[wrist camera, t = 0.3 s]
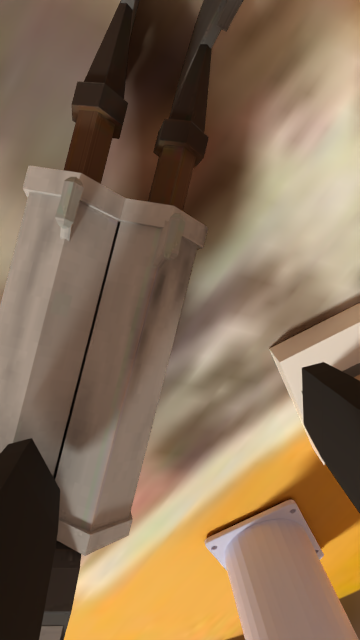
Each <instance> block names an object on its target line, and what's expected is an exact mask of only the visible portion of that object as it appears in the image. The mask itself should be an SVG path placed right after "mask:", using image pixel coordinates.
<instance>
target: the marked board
mask: <svg viewBox="0 0 360 640" xmlns="http://www.w3.org/2000/svg"><path fill="white" fill-rule="evenodd" d="M269 349H270V352H271V354H272V356H273V359H274V361H275V363H276V365H277V368H278V370H279V372H280V375H281V377H282V379H283V381H284V384H285V386H286V388H287V390H288V393H289V395H290V397H291V400H292V402H293V404H294V406H295V409H296V411H297V413H298V416H299V418H300V420H301V422H302V425H303V427H304V429H305V432H306V434H307V436H308V438H309V441H310V443H311V445H312V447H313V449H314V451H315V452H316V454H317V455H318V457H319V459H320V460H321V462H322V463H323V465H325V462H324V461H323V460H322V458H321V456H320V454H319V452H318V451H317V449H316V447H315V445H314V443H313V441H312V440H311V438H310V436H309V434H308V432H307V430H306V428H305V426H304V422H303V394H302V392H301V391H302V368H303V367H306V366H310V365H314V364H318V363H322V362H325V363H327V364H329V365H331V366H333V367H335V368H337V369H339V370H340V371H344V370H346V369H348V368H350V367H352V366H354V365H356V364H358V363H360V303H358V304H356V305H354V306H352V307H350V308H348V309H346V310H344V311H343V312H341V313H339V314H337V315H335V316H333V317H331V318H329V319H327V320H325V321H323V322H321V323H319V324H317V325H315V326H313V327H311V328H309V329H307V330H305V331H303V332H301V333H299V334H297V335H295V336H293V337H291V338H289V339H287V340H285V341H283V342H281V343H279V344H277V345H275V346H273V347H271V348H269Z"/></svg>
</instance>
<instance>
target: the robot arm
mask: <svg viewBox="0 0 360 640" xmlns="http://www.w3.org/2000/svg"><path fill="white" fill-rule="evenodd" d="M302 392H303V422H304V426H305V428H306V430H307V432H308V434H309V436H310V438H311V440H312V441H313V443H314V445H315V447H316V449H317V451H318V452H319V454H320V456H321V458H322V460H323V461H324V462H325V464H326V465H327V467H328V468H329V470H330V471H331V473H332V474H333V476H334V477H335V479H336V480H337V481H338V483H339V484H340V486H341V487H342V489H343V490H344V492H345V493H346V494H347V496H348V497H349V499H350V500H351V502H352V503H353V504H354V506H355V507H356V509H357V510H358V512H359V513H360V381H359V380H358V379H356V378H354V377H352V376H350V375H348V374H346V373H344V372H342V371H340V370H339V369H337V368H335V367H333V366H331V365H329V364H327V363H325V362H322V363H318V364H314V365H310V366H306V367H303V368H302ZM59 507H60V489H59V487H58V485H57V483H56V481H55V479H54V478H53V476H52V474H51V472H50V470H49V468H48V467H47V465H46V463H45V461H44V459H43V457H42V456H41V454H40V452H39V450H38V448H37V446H36V445H35V443H34V441H33V439H32V438H30V439H26V440H22V441H18V442H14V443H11V444H8V445H7V446H6V447H5V448H4V450H3V451H2V452H1V453H0V640H39V637H40V632H41V626H42V621H43V615H44V609H45V604H46V598H47V592H48V587H49V581H50V576H51V570H52V564H53V558H54V553H55V547H56V541H57V535H58V524H59ZM205 545H206V547H207V549H208V550H209V551H210V552H211V553H212V554H213V555H214V557H215V558H216V559H217V560H218V561H219V562H220V563H221V565H222V566H223V567H224V568H225V569H226V570H227V571H228V575H229V579H230V583H231V587H232V591H233V595H234V599H235V602H236V606H237V610H238V614H239V618H240V622H241V626H242V629H243V633H244V637H245V640H358V638H357V636H356V633H355V632H354V629H353V627H352V625H351V623H350V621H349V619H348V617H347V615H346V613H345V611H344V609H343V607H342V605H341V603H340V601H339V599H338V597H337V595H336V593H335V591H334V589H333V586H332V584H331V582H330V580H329V578H328V576H327V574H326V572H325V570H324V568H323V566H322V564H321V562H320V560H319V559H321V558H322V557H323V555H324V554H323V552H322V550H321V548H320V546H319V545H318V543H317V541H316V539H315V537H314V535H313V534H312V532H311V530H310V528H309V526H308V524H307V523H306V521H305V519H304V517H303V515H302V513H301V512H300V510H299V508H298V506H297V504H296V502H295V501H294V500H287V501H285V502H283V503H280V504H278V505H276V506H274V507H272V508H270V509H268V510H266V511H263V512H261V513H259V514H257V515H255V516H253V517H251V518H248V519H246V520H244V521H242V522H240V523H238V524H236V525H234V526H231V527H229V528H227V529H225V530H223V531H221V532H219V533H217V534H214V535H212V536H210V537H208V538H207V539H206V540H205Z"/></svg>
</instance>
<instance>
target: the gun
mask: <svg viewBox="0 0 360 640" xmlns="http://www.w3.org/2000/svg"><path fill="white" fill-rule="evenodd" d="M242 2H243V0H204V1H203V4H202V7H201V10H200V12H199V15H198V18H197V21H196V24H195V27H194V31H193V34H192V38H191V41H190V44H189V48H188V51H187V54H186V58H185V61H184V65H183V68H182V71H181V75H180V79H179V83H178V86H177V90H176V94H175V98H174V102H173V106H172V110H171V114H170V117H169V119H165V120H164V122H163V124H162V126H161V128H160V130H159V132H158V136H157V140H156V144H155V148H154V153H155V154H156V155H158V156H159V159H158V163H157V167H156V171H155V175H154V179H153V183H152V187H151V191H150V195H149V199H148V202H147V201H140V200H134V199H128V198H124V197H123V196H121V195H119V194H117V193H116V192H114V191H112V190H110V189H109V188H107V187H105V186H103V185H101V181H102V177H103V173H104V169H105V165H106V161H107V157H108V153H109V149H110V145H111V141H112V138H117V139H119V137H120V133H121V130H122V126H123V122H124V118H125V114H126V110H127V105H128V103H127V102H126V101H125V100H124V91H125V81H126V71H127V61H128V51H129V41H130V37H131V33H132V28H133V24H134V20H135V16H136V12H137V8H138V3H139V0H121V1H120V4H119V6H118V8H117V10H116V12H115V15H114V17H113V19H112V21H111V23H110V26H109V28H108V30H107V32H106V34H105V37H104V39H103V41H102V43H101V45H100V48H99V50H98V52H97V54H96V56H95V59H94V61H93V63H92V65H91V67H90V70H89V72H88V74H87V76H86V78H85V80H84V82H77V86H76V90H75V94H74V98H73V101H72V120H73V121H74V122H76V124H75V128H74V132H73V136H72V140H71V144H70V148H69V152H68V156H67V159H66V163H65V167H64V170H57V169H50V168H43V167H36V166H28V170H27V174H26V177H25V181H24V185H23V190H24V192H25V194H26V195H27V197H28V199H27V203H26V207H25V211H24V215H23V219H22V223H21V227H20V231H19V235H18V238H17V242H16V246H15V250H14V254H13V258H12V262H11V266H10V270H9V274H8V278H7V282H6V286H5V290H4V294H3V297H2V301H1V305H0V453H1V452H2V451H3V450H4V448H5V447H6V446H7V445H8V444H11V443H14V442H18V441H22V440H26V439H30V438H32V439H33V441H34V443H35V445H36V446H37V448H38V450H39V452H40V454H41V456H42V457H43V459H44V461H45V463H46V465H47V467H48V468H49V470H50V472H51V474H52V476H53V478H54V479H55V481H56V483H57V485H58V487H59V489H60V507H59V524H58V535H57V541H56V547H55V553H54V558H53V564H52V570H51V576H50V581H49V587H48V592H47V598H46V604H45V609H44V615H43V621H42V626H41V632H40V637H39V640H64V636H65V632H66V629H67V625H68V622H69V618H70V614H71V610H72V605H73V600H74V595H75V590H76V585H77V580H78V574H79V569H80V560H81V554H82V555H84V556H86V555H88V554H90V553H92V552H94V551H96V550H98V549H100V548H103V547H105V546H107V545H109V544H111V543H113V542H115V541H118V540H120V539H122V538H124V537H126V536H128V535H129V531H130V527H131V523H132V515H131V507H132V503H133V499H134V495H135V491H136V488H137V484H138V480H139V476H140V472H141V468H142V464H143V460H144V456H145V452H146V448H147V444H148V440H149V436H150V432H151V428H152V425H153V421H154V417H155V413H156V409H157V405H158V401H159V397H160V393H161V389H162V385H163V381H164V377H165V373H166V369H167V365H168V361H169V358H170V354H171V350H172V346H173V342H174V338H175V334H176V330H177V326H178V322H179V318H180V314H181V310H182V306H183V302H184V298H185V295H186V291H187V287H188V283H189V279H190V275H191V271H192V267H193V263H194V259H195V255H196V251H197V250H198V249H200V248H203V247H204V243H205V239H206V235H207V231H208V227H207V226H205V225H204V224H202V223H200V222H199V221H197V220H196V219H194V218H193V217H191V216H189V215H188V214H186V213H185V212H183V207H184V203H185V199H186V195H187V191H188V187H189V183H190V179H191V175H192V171H193V168H195V167H196V166H197V165H198V163H199V162H200V161H201V160H202V159H203V157H204V154H205V150H206V146H207V142H208V138H209V137H208V136H207V135H205V134H204V129H205V118H206V107H207V95H208V84H209V72H210V61H211V50H212V46H213V44H214V42H215V41H216V39H217V37H218V35H219V33H220V31H221V29H222V30H224V31H226V32H227V30H228V28H229V26H230V24H231V22H232V20H233V18H234V16H235V15H236V13H237V11H238V9H239V7H240V5H241V4H242ZM114 235H115V236H114ZM113 239H114V240H113ZM112 243H113V244H112ZM111 247H112V248H111ZM110 251H111V252H110ZM109 254H110V256H109ZM108 258H109V260H108ZM107 262H108V263H107ZM106 266H107V267H106ZM105 270H106V271H105ZM104 274H105V275H104ZM103 278H104V279H103ZM102 282H103V283H102ZM101 286H102V287H101ZM100 290H101V291H100ZM99 294H100V295H99ZM98 298H99V299H98ZM97 302H98V303H97ZM96 306H97V307H96ZM95 310H96V311H95ZM94 314H95V315H94Z"/></svg>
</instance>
